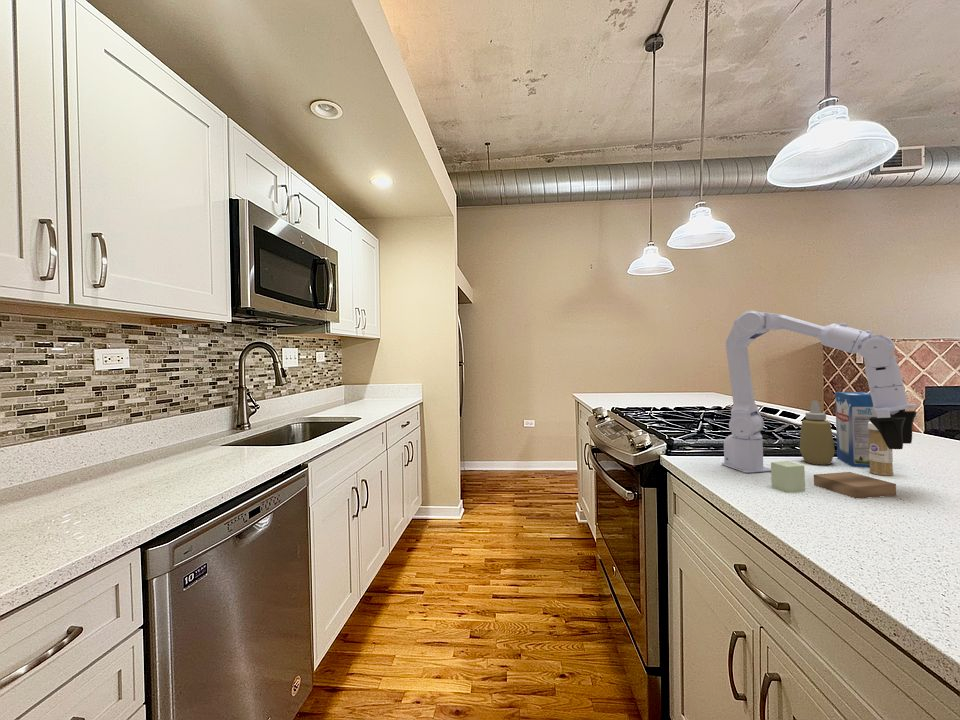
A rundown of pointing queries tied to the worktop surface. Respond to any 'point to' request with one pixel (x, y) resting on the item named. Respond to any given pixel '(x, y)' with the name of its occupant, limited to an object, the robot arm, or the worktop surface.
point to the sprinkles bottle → (879, 453)
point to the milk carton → (853, 427)
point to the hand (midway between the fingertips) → (900, 446)
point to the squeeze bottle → (816, 437)
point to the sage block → (788, 476)
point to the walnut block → (855, 485)
